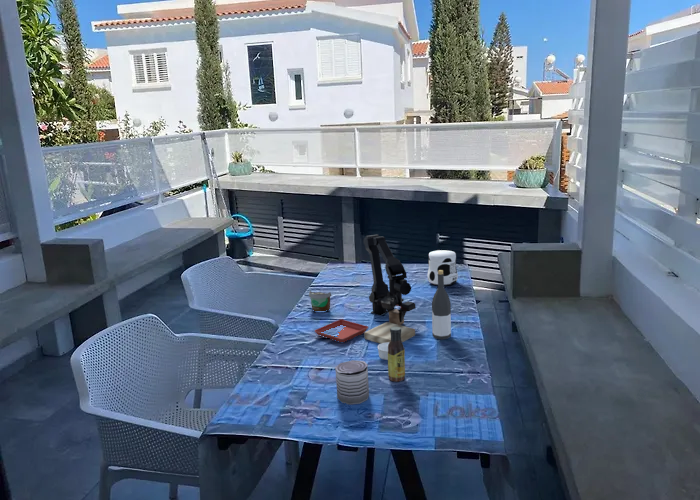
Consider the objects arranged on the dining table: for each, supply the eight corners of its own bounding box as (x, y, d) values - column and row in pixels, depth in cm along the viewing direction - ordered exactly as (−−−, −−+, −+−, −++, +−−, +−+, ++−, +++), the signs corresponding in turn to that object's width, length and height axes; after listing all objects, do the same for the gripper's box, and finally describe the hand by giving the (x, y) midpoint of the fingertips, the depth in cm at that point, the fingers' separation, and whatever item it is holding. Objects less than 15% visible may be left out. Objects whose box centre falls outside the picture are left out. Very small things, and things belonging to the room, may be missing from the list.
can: (344, 407, 186) (342, 375, 183) (332, 393, 196) (330, 362, 193) (374, 399, 190) (373, 367, 187) (361, 386, 200) (359, 355, 198)
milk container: (427, 279, 328) (426, 250, 324) (457, 279, 325) (456, 249, 321) (427, 288, 311) (426, 257, 307) (458, 287, 309) (458, 256, 305)
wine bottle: (450, 339, 237) (449, 273, 231) (431, 339, 239) (430, 273, 232) (451, 332, 245) (450, 268, 238) (432, 332, 247) (431, 268, 240)
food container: (305, 312, 282) (304, 293, 279) (310, 308, 287) (309, 290, 285) (327, 314, 277) (326, 295, 275) (332, 310, 283) (331, 292, 280)
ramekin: (387, 350, 231) (387, 340, 230) (404, 355, 225) (403, 345, 224) (373, 357, 225) (372, 347, 224) (389, 362, 219) (389, 352, 218)
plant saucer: (313, 336, 250) (313, 330, 249) (341, 325, 263) (340, 318, 262) (342, 346, 238) (342, 339, 237) (369, 333, 251) (369, 326, 250)
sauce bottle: (400, 384, 200) (398, 333, 196) (385, 380, 204) (383, 330, 199) (408, 376, 206) (406, 326, 201) (393, 373, 209) (391, 324, 205)
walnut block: (389, 323, 258) (388, 311, 257) (395, 320, 262) (395, 308, 261) (397, 326, 255) (397, 313, 254) (404, 322, 259) (403, 310, 257)
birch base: (364, 338, 244) (364, 332, 243) (387, 327, 255) (386, 321, 254) (393, 347, 233) (392, 340, 232) (415, 335, 244) (415, 329, 244)
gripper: (368, 290, 255) (370, 321, 259) (401, 297, 243) (402, 330, 246) (383, 284, 263) (385, 315, 267) (415, 290, 251) (416, 323, 254)
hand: (396, 320), depth 258 cm, fingers closed on walnut block, 5 cm apart
